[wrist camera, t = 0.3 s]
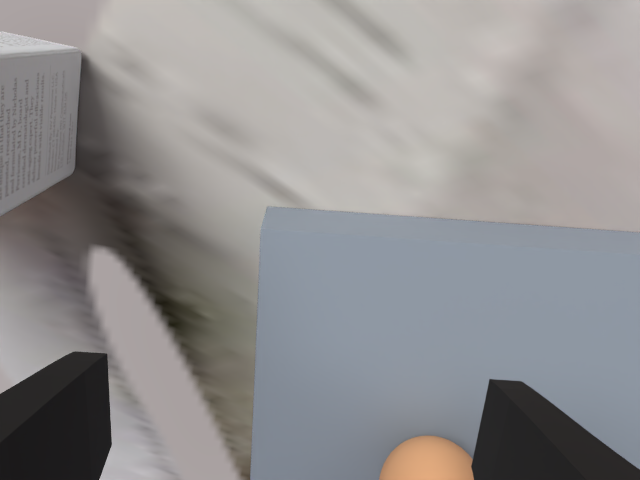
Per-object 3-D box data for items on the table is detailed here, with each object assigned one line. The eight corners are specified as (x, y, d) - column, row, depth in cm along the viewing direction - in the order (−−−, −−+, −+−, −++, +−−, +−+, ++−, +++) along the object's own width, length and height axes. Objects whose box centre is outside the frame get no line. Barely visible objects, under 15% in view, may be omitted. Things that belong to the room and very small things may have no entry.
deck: (739, 580, 25) (805, 664, 22) (251, 556, 25) (241, 639, 21) (885, 249, 20) (1003, 292, 17) (267, 206, 19) (257, 242, 16)
